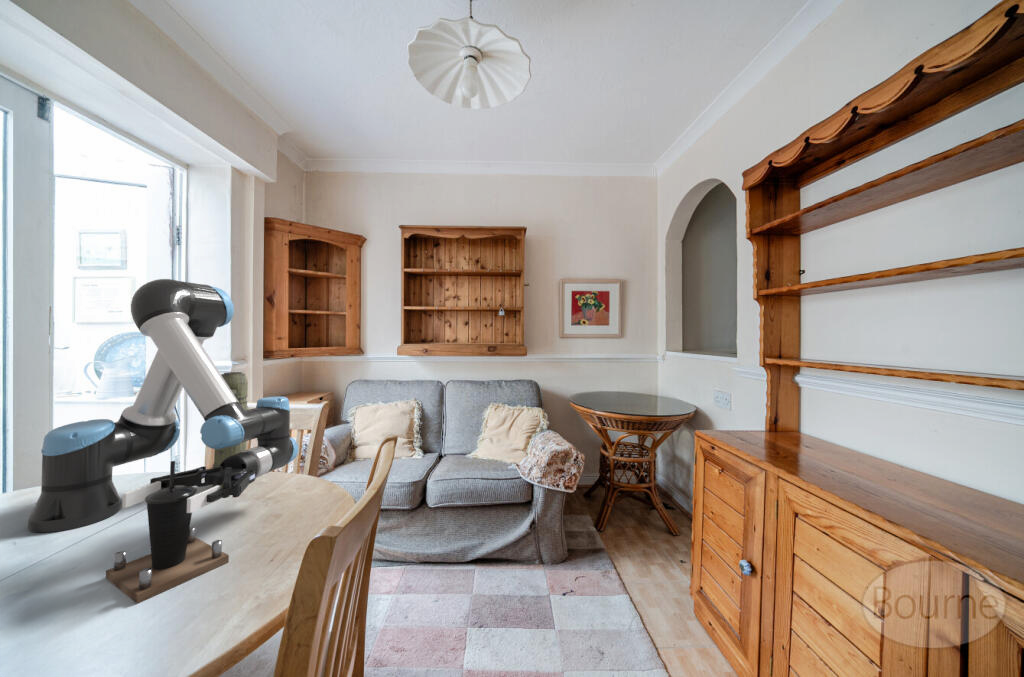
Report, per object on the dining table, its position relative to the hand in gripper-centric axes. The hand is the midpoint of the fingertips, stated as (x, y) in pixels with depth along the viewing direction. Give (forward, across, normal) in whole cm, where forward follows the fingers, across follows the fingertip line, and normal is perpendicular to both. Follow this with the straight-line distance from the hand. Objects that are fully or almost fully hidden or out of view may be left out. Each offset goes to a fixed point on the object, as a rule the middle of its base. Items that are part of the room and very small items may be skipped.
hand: (155, 503), depth 71 cm
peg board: (-3, 0, -14) cm, 15 cm away
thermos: (-44, +24, -15) cm, 52 cm away
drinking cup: (-3, 0, -13) cm, 14 cm away
